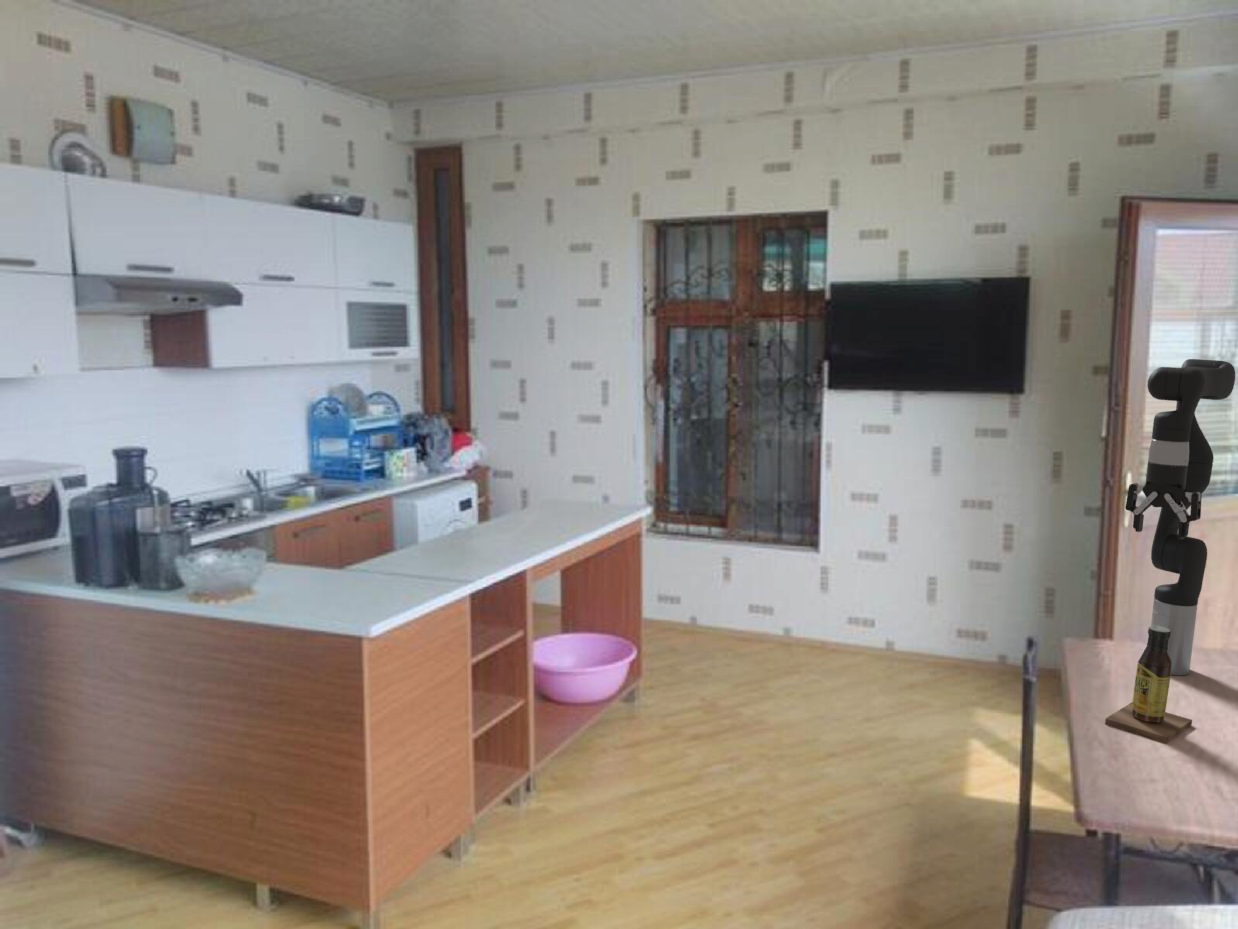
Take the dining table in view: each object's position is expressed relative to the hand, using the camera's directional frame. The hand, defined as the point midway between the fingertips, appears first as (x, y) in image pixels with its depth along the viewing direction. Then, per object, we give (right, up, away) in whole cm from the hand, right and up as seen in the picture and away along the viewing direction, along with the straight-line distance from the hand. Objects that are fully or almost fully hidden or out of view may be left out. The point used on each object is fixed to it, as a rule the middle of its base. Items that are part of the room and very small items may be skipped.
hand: (1159, 535), depth 212 cm
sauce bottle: (-6, -38, -6) cm, 39 cm away
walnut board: (-6, -39, -6) cm, 40 cm away
